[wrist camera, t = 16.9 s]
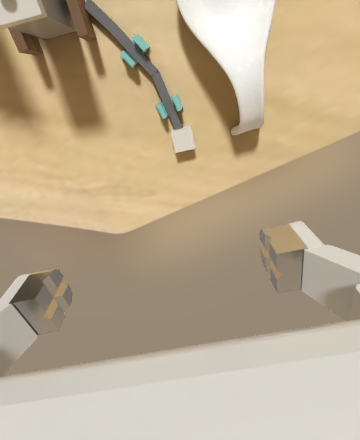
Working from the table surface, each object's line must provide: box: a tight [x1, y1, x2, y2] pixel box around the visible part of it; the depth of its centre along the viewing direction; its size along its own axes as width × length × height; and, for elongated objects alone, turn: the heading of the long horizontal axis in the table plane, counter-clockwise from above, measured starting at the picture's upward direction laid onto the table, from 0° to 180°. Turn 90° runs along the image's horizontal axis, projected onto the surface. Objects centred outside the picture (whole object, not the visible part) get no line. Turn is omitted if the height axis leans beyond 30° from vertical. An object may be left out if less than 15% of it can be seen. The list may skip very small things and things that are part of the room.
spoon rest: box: [176, 0, 275, 135], centre depth 31 cm, size 24×12×7 cm, turn 19°
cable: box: [84, 0, 195, 153], centre depth 35 cm, size 4×22×2 cm, turn 32°
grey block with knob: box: [0, 0, 76, 39], centre depth 26 cm, size 5×5×12 cm
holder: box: [8, 0, 97, 55], centre depth 29 cm, size 9×8×4 cm
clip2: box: [120, 34, 149, 69], centre depth 33 cm, size 2×4×2 cm, turn 136°
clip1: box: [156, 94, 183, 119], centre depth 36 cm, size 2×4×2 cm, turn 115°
